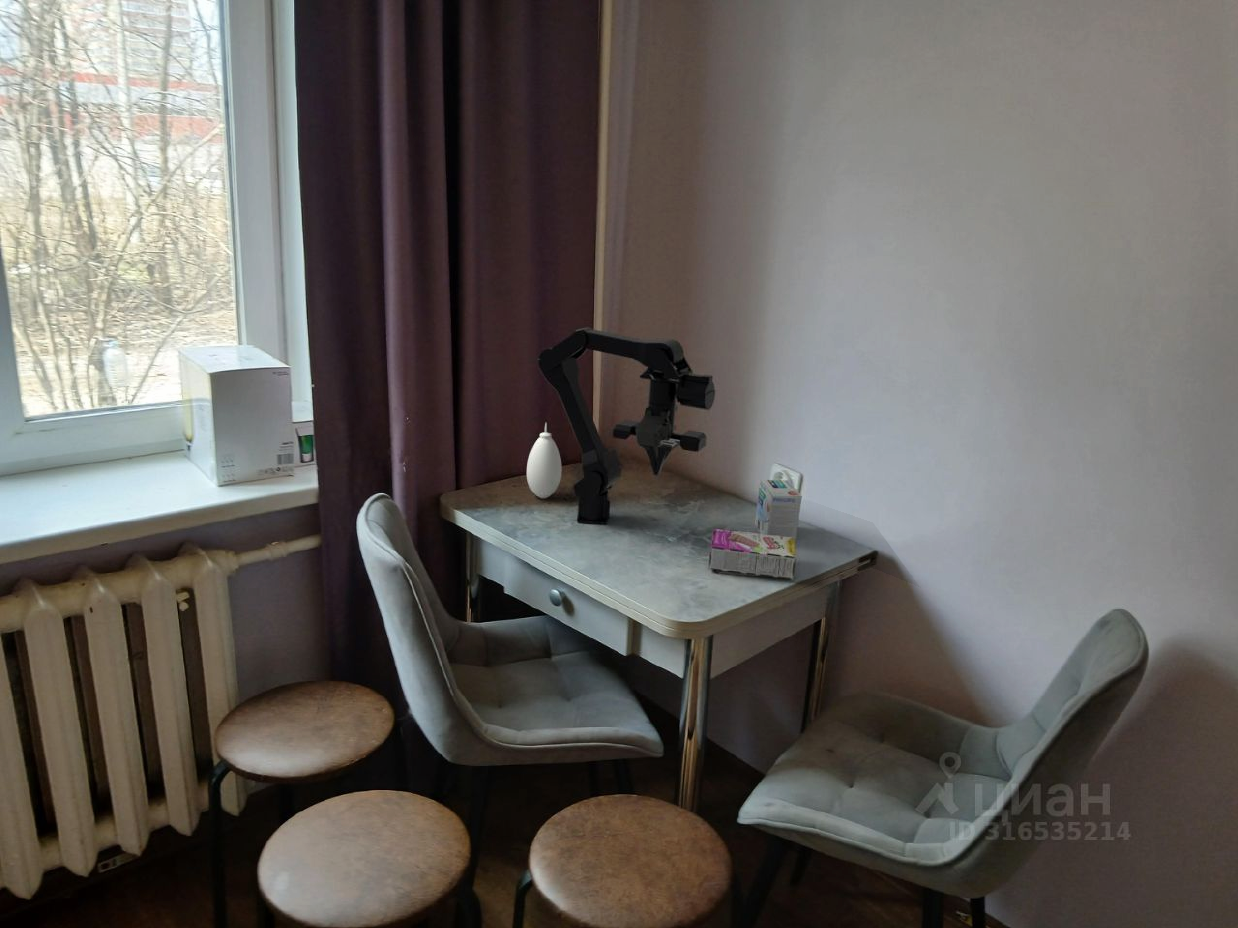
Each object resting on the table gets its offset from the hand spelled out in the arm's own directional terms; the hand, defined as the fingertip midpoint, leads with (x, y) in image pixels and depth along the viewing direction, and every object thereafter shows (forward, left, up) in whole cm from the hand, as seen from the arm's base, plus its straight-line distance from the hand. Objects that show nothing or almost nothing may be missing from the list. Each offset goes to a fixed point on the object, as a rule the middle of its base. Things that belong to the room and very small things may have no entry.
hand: (656, 474), depth 181 cm
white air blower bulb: (-25, +18, -13) cm, 34 cm away
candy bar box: (+11, -13, -10) cm, 20 cm away
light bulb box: (+27, +4, -13) cm, 30 cm away
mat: (+18, -11, -13) cm, 25 cm away
